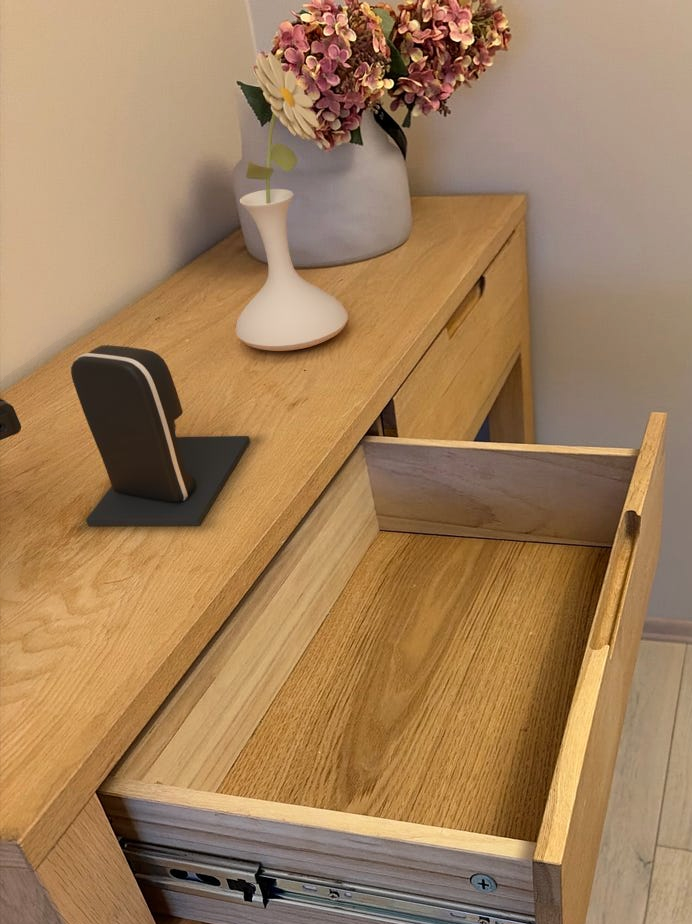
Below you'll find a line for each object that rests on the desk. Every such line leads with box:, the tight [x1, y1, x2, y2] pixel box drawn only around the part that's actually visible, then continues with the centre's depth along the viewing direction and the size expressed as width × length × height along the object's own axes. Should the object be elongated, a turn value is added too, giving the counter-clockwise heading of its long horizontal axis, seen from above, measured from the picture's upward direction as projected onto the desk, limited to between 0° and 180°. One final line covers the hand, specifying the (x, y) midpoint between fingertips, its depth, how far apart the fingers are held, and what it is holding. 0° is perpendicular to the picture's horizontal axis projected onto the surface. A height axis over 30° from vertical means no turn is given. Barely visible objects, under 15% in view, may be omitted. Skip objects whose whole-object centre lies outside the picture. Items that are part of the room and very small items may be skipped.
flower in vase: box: [235, 52, 349, 352], centre depth 93 cm, size 13×11×25 cm
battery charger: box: [70, 344, 196, 503], centre depth 74 cm, size 7×4×11 cm, turn 67°
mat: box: [85, 435, 251, 527], centre depth 79 cm, size 9×13×1 cm
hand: (11, 413), depth 67 cm, fingers closed
